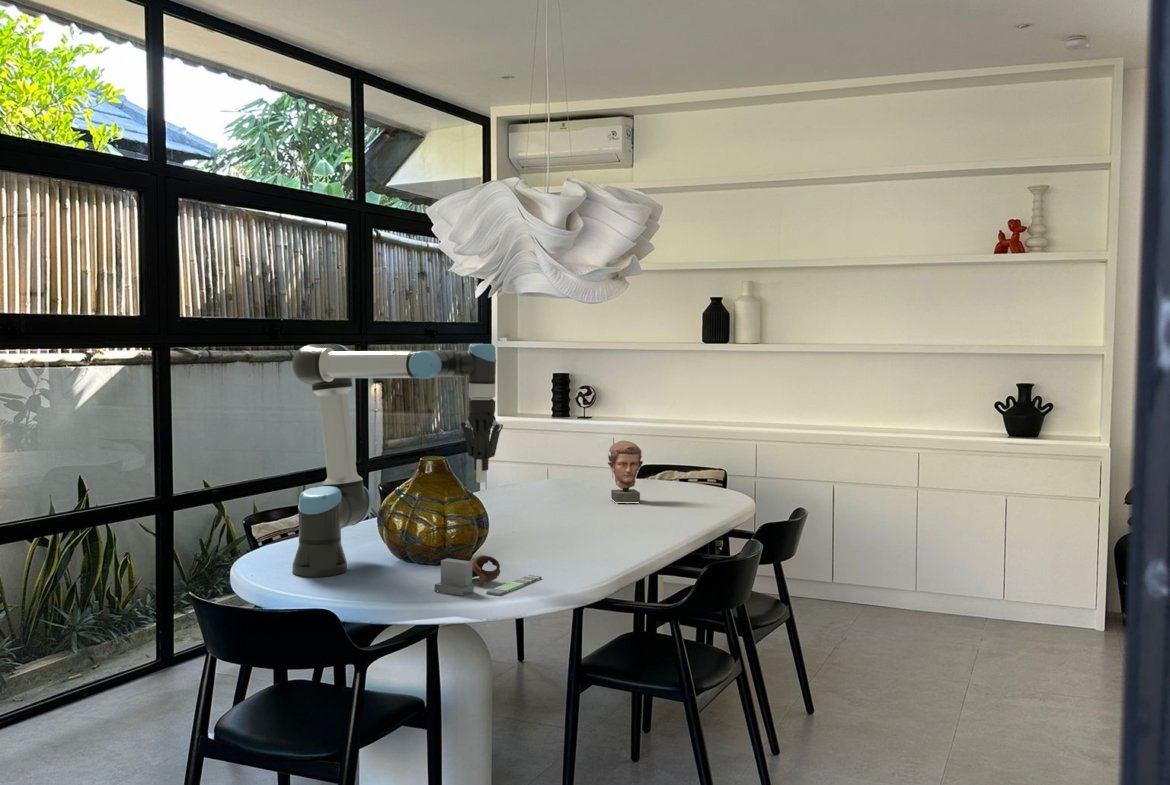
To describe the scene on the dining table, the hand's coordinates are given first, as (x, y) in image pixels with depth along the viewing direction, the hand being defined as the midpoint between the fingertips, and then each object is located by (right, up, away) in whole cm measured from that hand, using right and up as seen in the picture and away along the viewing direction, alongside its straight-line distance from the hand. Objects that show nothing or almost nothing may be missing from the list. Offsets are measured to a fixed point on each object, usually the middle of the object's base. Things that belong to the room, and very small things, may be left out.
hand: (481, 481), depth 288 cm
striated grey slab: (-5, -27, -18) cm, 33 cm away
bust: (+46, -20, +130) cm, 139 cm away
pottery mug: (0, -27, -7) cm, 28 cm away
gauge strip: (+10, -27, -12) cm, 31 cm away
